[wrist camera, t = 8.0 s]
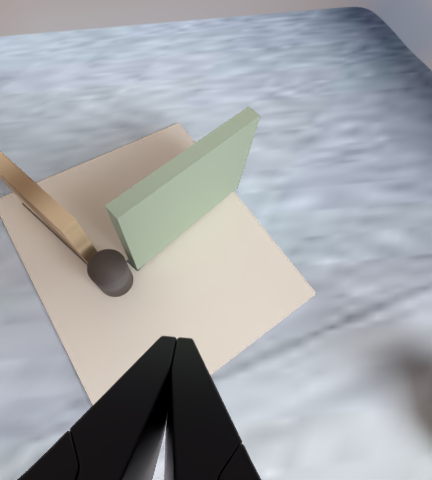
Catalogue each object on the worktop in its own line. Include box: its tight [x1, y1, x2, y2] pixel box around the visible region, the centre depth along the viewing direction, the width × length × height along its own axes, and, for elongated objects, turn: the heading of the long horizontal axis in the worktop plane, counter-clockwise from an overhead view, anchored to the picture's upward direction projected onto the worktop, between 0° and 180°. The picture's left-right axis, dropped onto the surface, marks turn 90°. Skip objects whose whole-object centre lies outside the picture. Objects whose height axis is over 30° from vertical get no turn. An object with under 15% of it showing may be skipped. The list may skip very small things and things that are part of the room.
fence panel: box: [105, 107, 260, 270], centre depth 20 cm, size 11×1×8 cm, turn 135°
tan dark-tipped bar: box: [0, 151, 133, 297], centre depth 20 cm, size 11×2×6 cm, turn 50°
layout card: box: [0, 123, 316, 405], centre depth 23 cm, size 17×20×1 cm
